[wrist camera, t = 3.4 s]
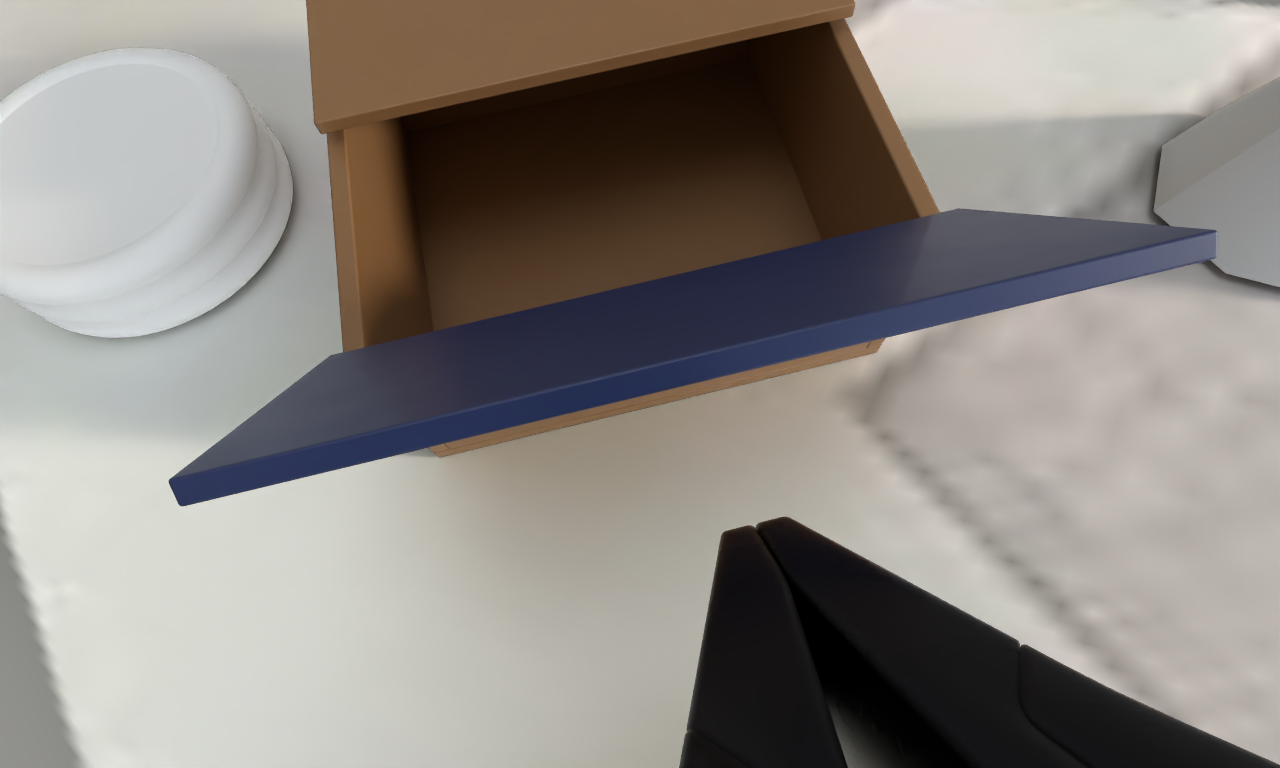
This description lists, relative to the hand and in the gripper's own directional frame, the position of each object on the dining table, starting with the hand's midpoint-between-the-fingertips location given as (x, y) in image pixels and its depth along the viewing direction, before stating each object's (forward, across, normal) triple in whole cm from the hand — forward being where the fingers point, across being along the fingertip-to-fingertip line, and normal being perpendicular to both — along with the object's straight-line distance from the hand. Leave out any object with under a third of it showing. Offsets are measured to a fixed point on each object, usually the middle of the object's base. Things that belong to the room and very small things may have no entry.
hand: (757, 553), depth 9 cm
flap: (+4, 0, -2) cm, 5 cm away
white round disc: (+21, +16, -5) cm, 27 cm away
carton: (+17, 0, -1) cm, 17 cm away
